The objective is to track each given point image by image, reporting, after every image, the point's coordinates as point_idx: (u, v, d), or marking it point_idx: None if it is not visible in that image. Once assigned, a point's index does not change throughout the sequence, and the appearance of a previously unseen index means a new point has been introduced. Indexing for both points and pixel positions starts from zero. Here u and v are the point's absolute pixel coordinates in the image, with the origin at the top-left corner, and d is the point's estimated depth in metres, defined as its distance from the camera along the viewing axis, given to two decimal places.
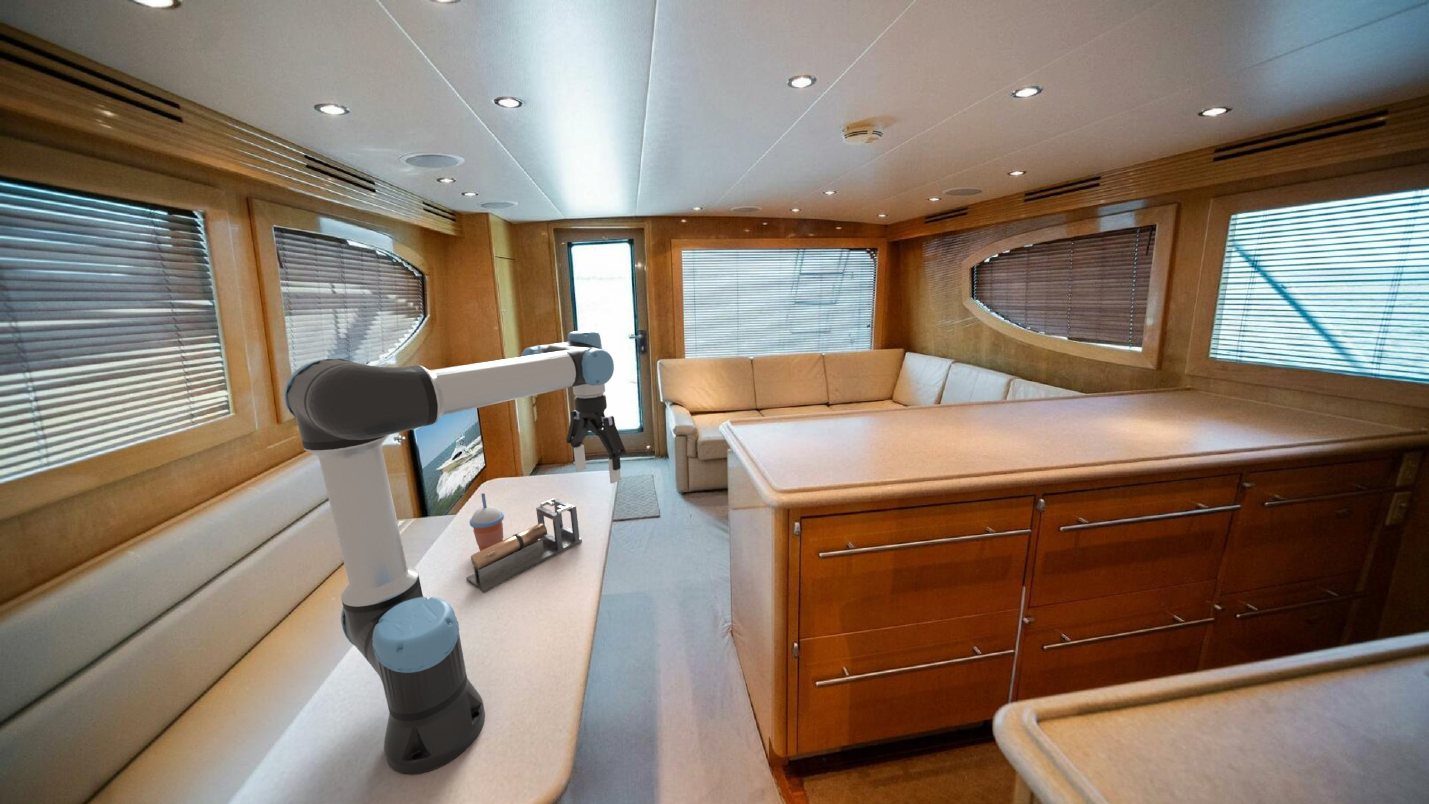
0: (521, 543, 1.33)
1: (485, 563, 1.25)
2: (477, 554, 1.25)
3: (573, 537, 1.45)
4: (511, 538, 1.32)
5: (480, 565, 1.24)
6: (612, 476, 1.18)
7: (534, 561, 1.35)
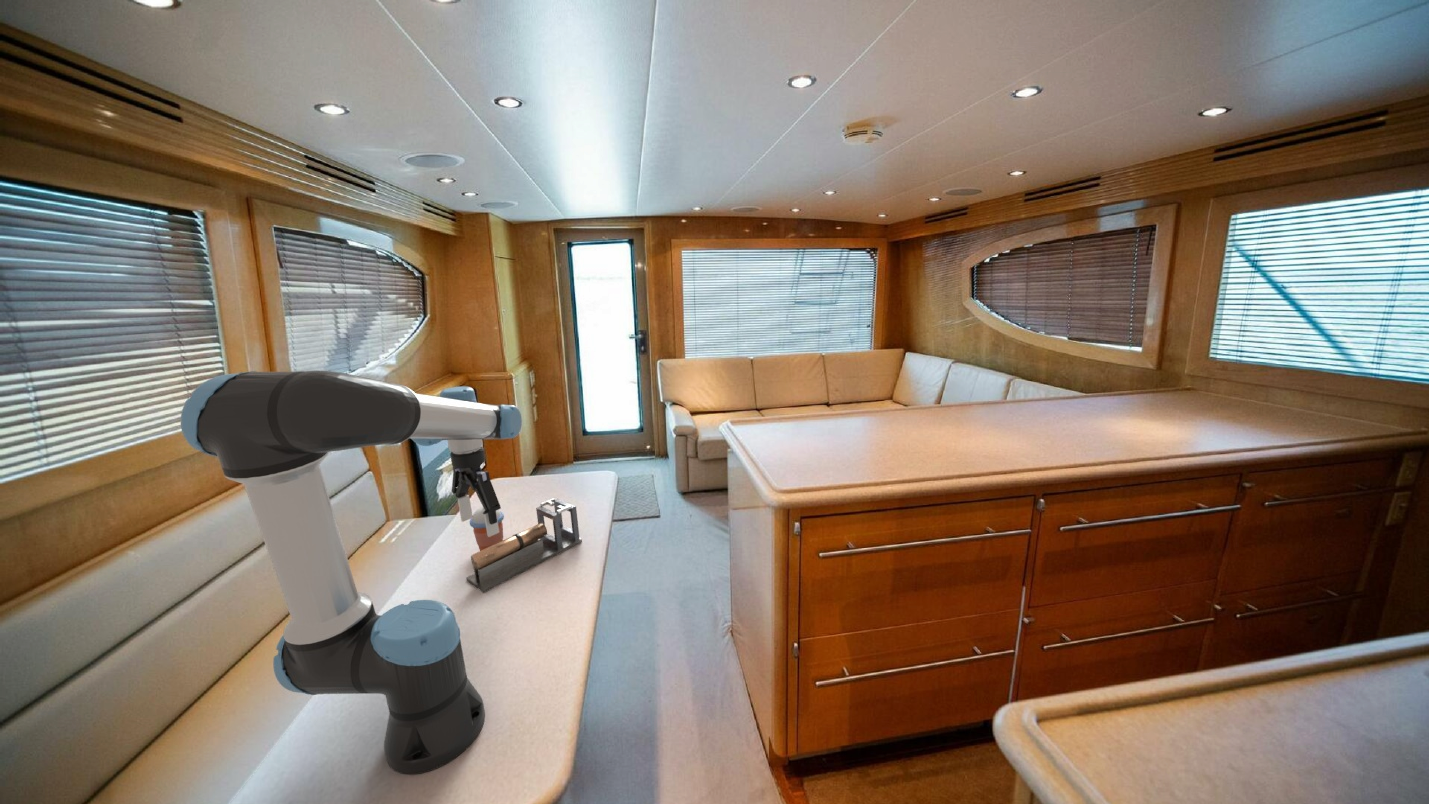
0: (521, 543, 1.33)
1: (485, 563, 1.25)
2: (477, 554, 1.25)
3: (573, 537, 1.45)
4: (511, 538, 1.32)
5: (480, 565, 1.24)
6: (488, 530, 1.20)
7: (534, 561, 1.35)
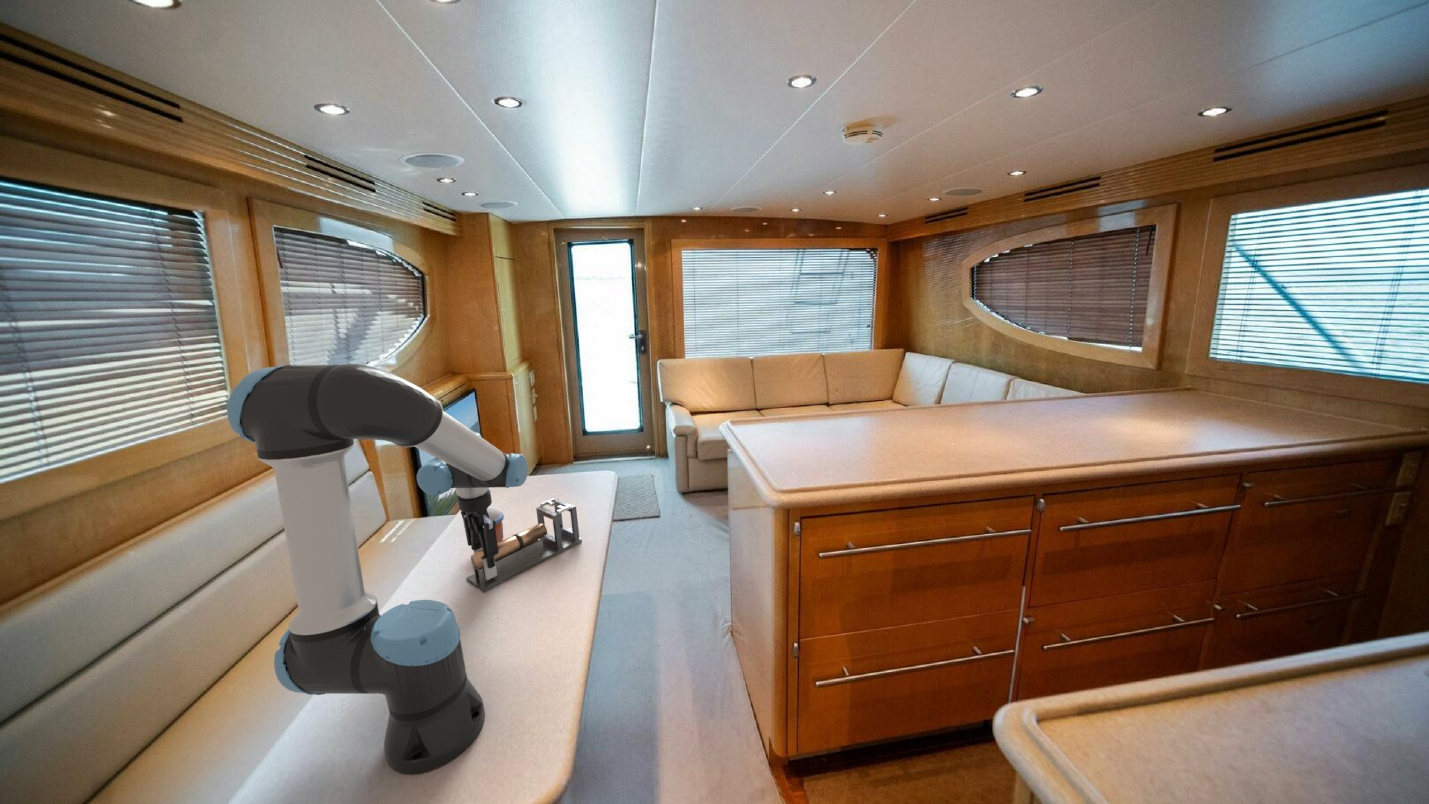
0: (521, 543, 1.33)
1: None
2: (477, 554, 1.25)
3: (573, 537, 1.45)
4: (511, 538, 1.32)
5: (480, 565, 1.24)
6: (487, 573, 1.25)
7: (534, 561, 1.35)
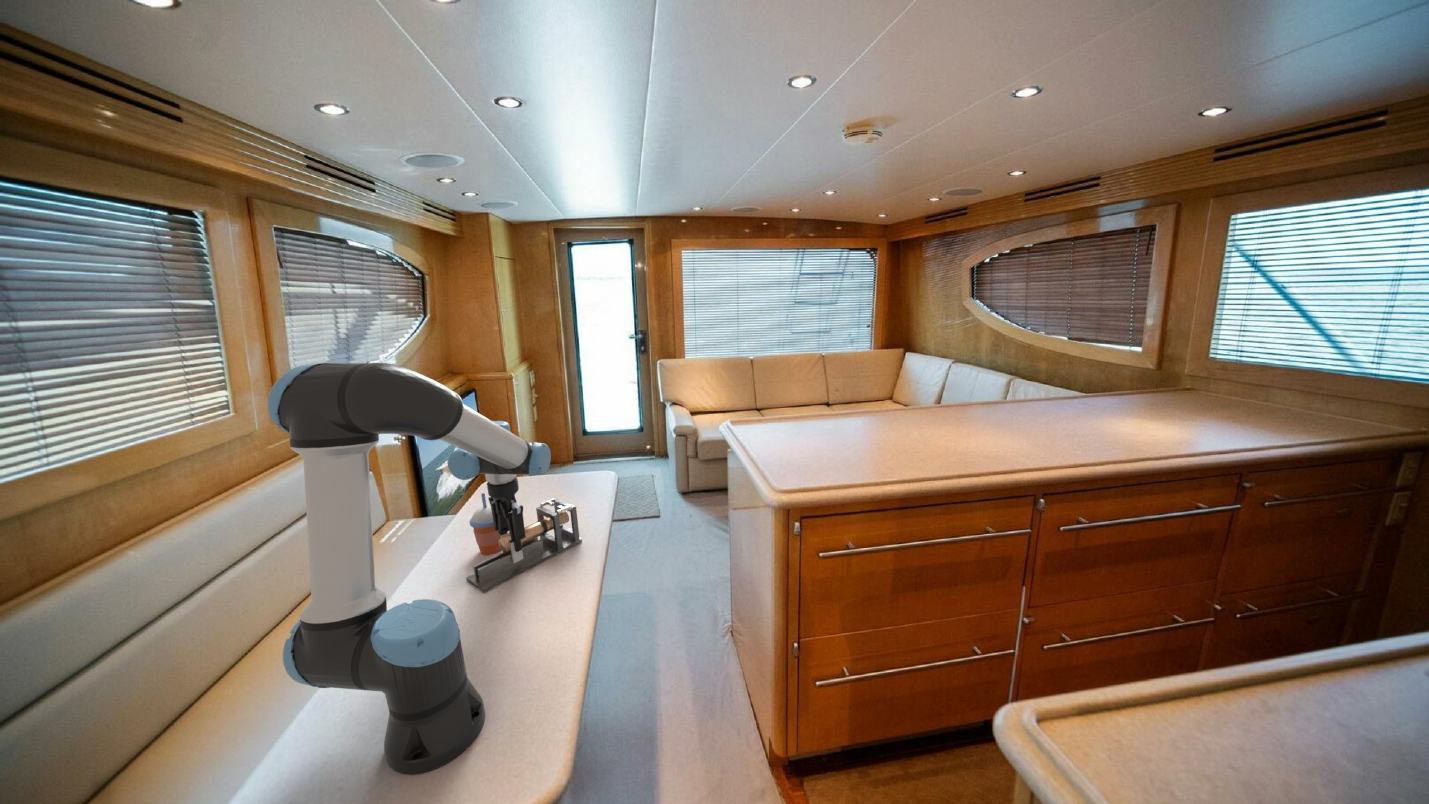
0: (545, 528, 1.39)
1: None
2: (504, 538, 1.31)
3: (573, 537, 1.45)
4: (535, 524, 1.38)
5: (508, 549, 1.30)
6: (514, 557, 1.31)
7: (534, 561, 1.35)
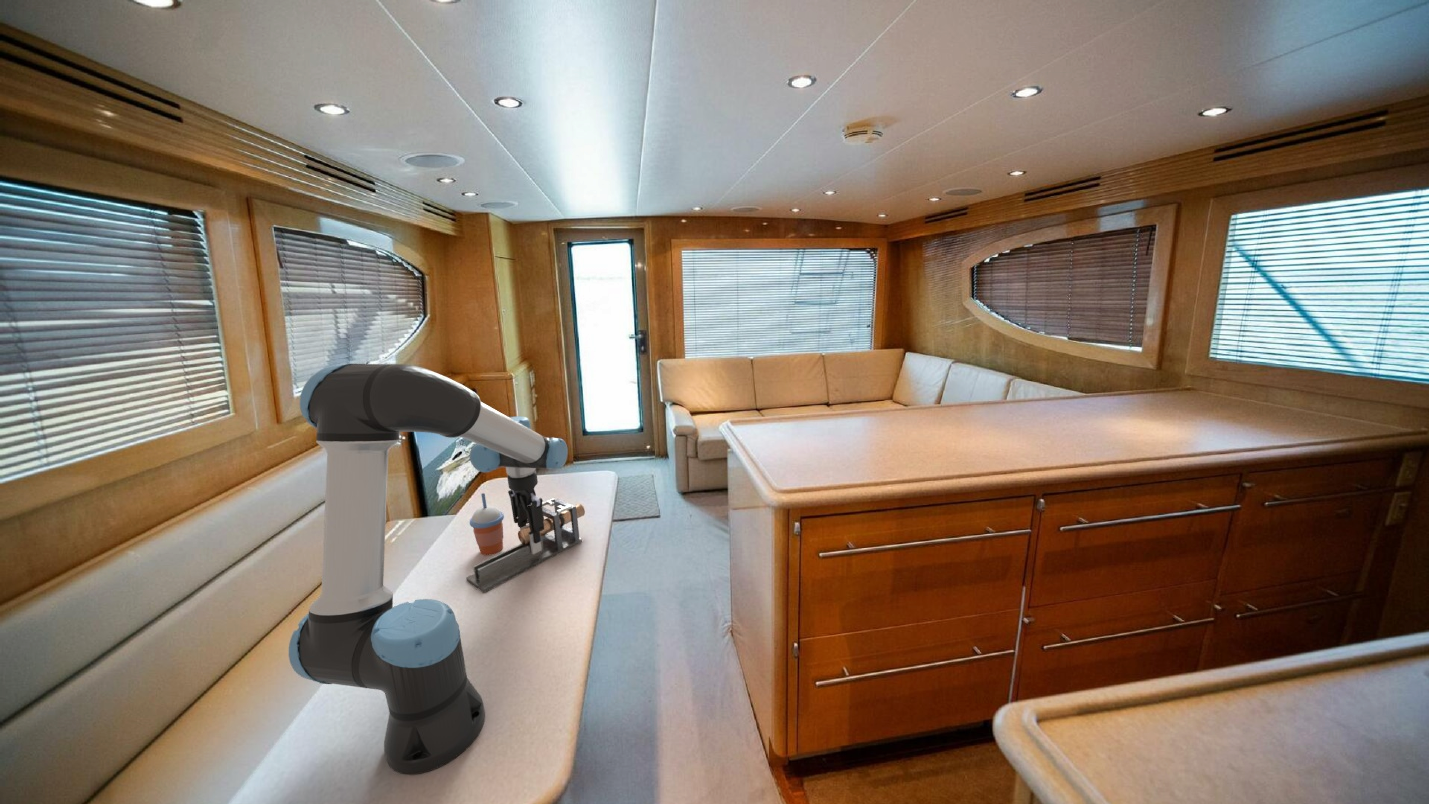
0: (562, 521, 1.43)
1: None
2: (524, 530, 1.35)
3: (573, 537, 1.45)
4: None
5: (527, 540, 1.34)
6: (533, 548, 1.35)
7: (534, 561, 1.35)
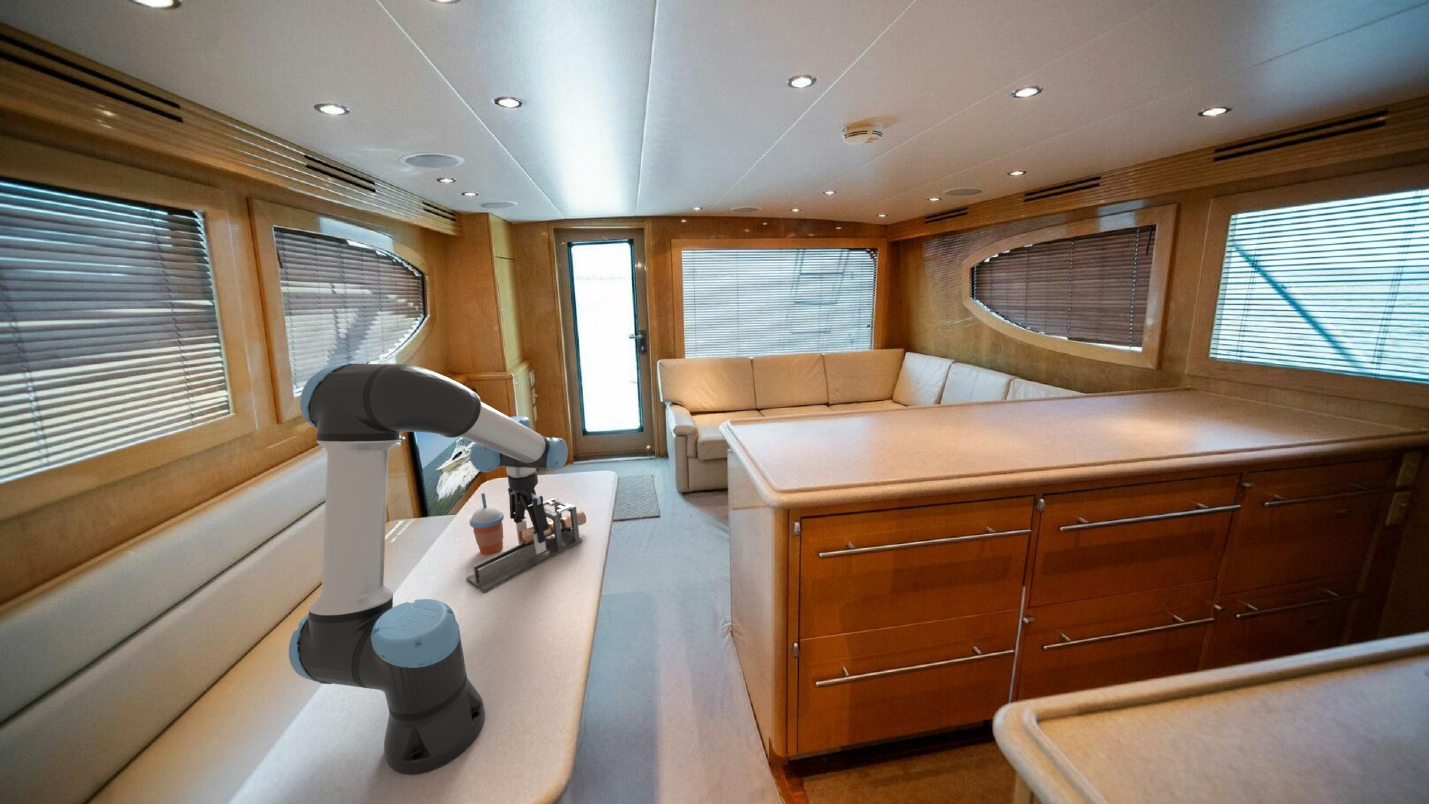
0: (563, 526, 1.43)
1: (532, 539, 1.36)
2: (525, 530, 1.36)
3: (573, 537, 1.45)
4: None
5: (527, 540, 1.35)
6: (537, 548, 1.34)
7: (534, 561, 1.35)
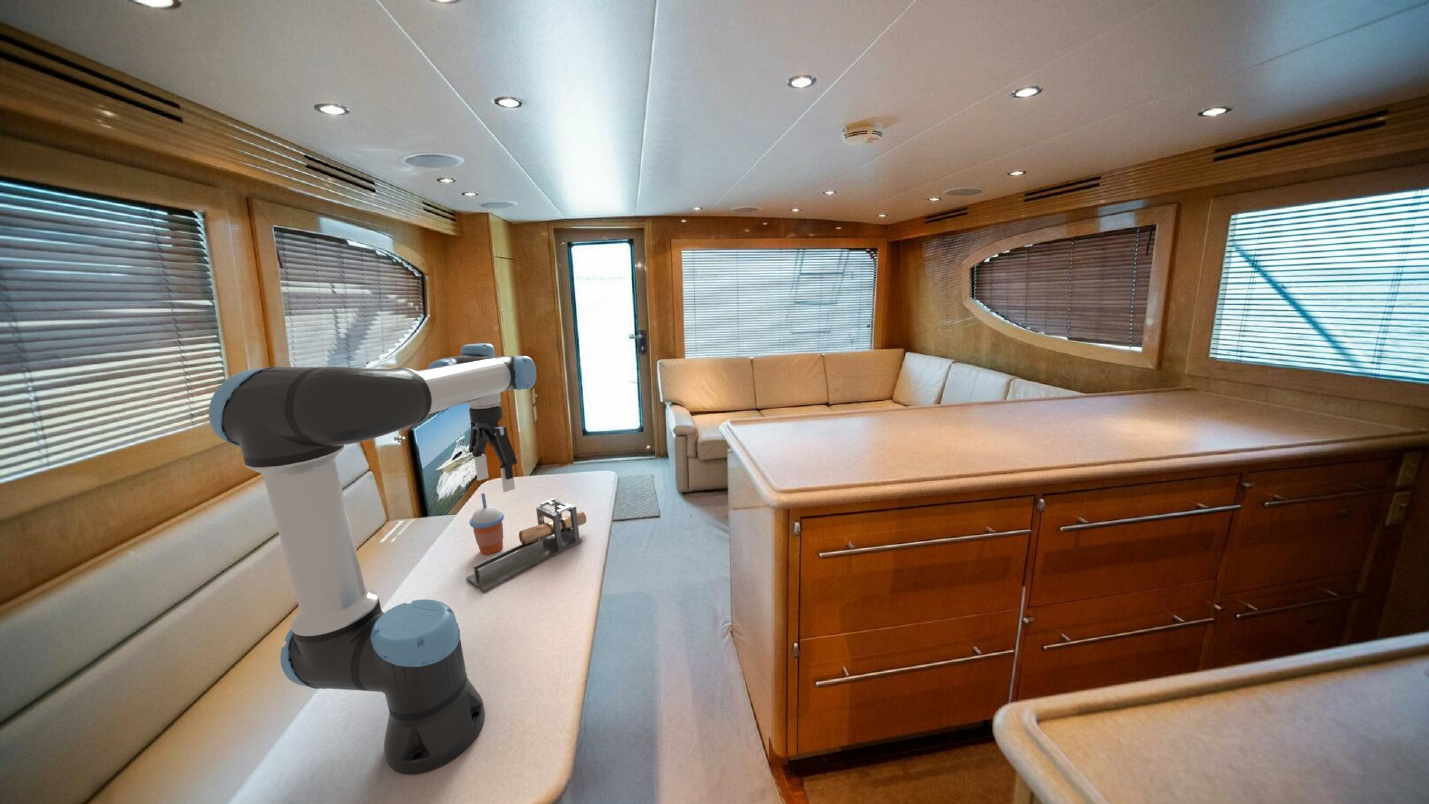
0: (563, 526, 1.43)
1: (532, 539, 1.36)
2: (525, 530, 1.36)
3: (573, 537, 1.45)
4: None
5: (527, 540, 1.35)
6: (505, 485, 1.21)
7: (534, 561, 1.35)
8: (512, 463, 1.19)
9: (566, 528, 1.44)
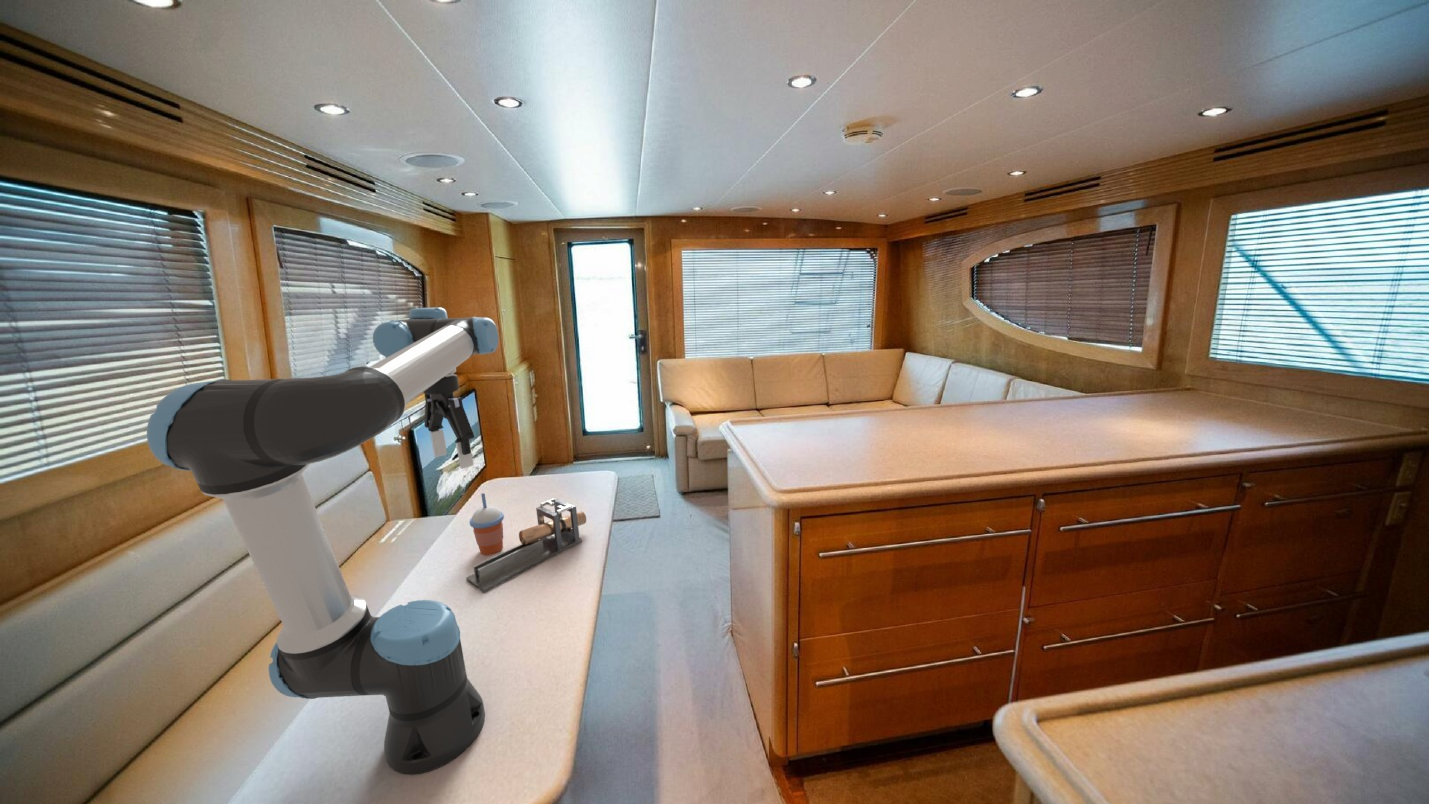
0: (563, 526, 1.43)
1: (532, 539, 1.36)
2: (525, 530, 1.36)
3: (573, 537, 1.45)
4: None
5: (527, 540, 1.35)
6: (461, 461, 1.12)
7: (534, 561, 1.35)
8: (468, 437, 1.10)
9: (566, 528, 1.44)
